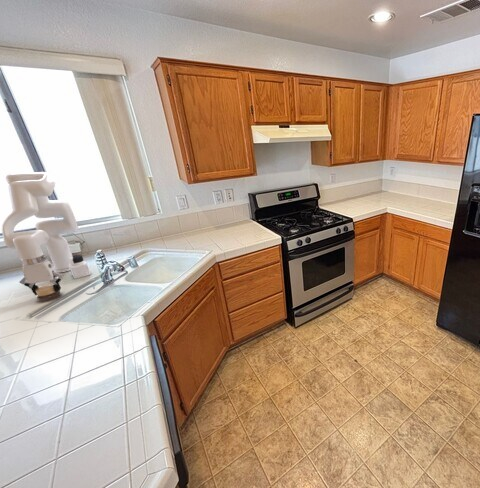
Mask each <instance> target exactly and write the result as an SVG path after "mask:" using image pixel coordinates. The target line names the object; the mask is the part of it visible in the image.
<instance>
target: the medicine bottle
mask: <svg viewBox="0 0 480 488" xmlns="http://www.w3.org/2000/svg"><path fill="white" fill-rule="evenodd" d="M68 260H69V262H70V264H69V267H70V272H71V275H72V276H73V278H74V279H75V280H76V279H80V278H84V277H86V276H91V271H90V268H89V266H88V263H87V262H86V261H85V260H84V258H83V255H80V254H75V255H73V256H72V257H70V258H69V259H68Z"/></svg>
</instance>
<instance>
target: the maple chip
mask: <svg viewBox="0 0 480 488" xmlns="http://www.w3.org/2000/svg"><path fill="white" fill-rule="evenodd" d="M53 285H54V284H53V283H49V284H44V285H41V286H38V288H37V289H36V290H35V291H36V293H37V295H36V296H45V295H49V294H52V293H54V292H55V290H54V287H53Z"/></svg>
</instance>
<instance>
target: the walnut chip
mask: <svg viewBox="0 0 480 488" xmlns="http://www.w3.org/2000/svg"><path fill="white" fill-rule="evenodd" d="M61 296H62V292H61V289H60V290H59V291H58V292H54V293H52V294H49V295H45V296H38V295H36V299H37V301H38V302H39V303H46V302H50V301H53V300H57V299H58V298H60V297H61Z"/></svg>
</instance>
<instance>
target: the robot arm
mask: <svg viewBox="0 0 480 488" xmlns="http://www.w3.org/2000/svg"><path fill="white" fill-rule="evenodd" d="M5 180H6V182H7V184H8V193H9V198H10V203H11V208H12V211H11V213H10V214H9V215H7V217H6V218H5V219H4V221H3V223H2V224H1V233H2V238H3V242H4V244H5V246H6V247H8V249H15V250H16V252H17V254H18V256H19V259H20V260H21V263H22V265H21V269H22V275H23V277H22V279H21V280H19V282H18V283H20V284H21V285H23V286H25V287H26V288H29V289H30V290H31V291H32V294H34V296H38V295H37V293H36V291H35V290H36V289H37V288H39V286H38V285H37V284H40V283H46V282H47V283H48V282H50V284H54V285H53V287H54V290H55V292H58V291H59V290H60V291H61V285H60V282H61V281H62V279H63V278H64V274H62V273H66V272H71V270H70V267H69V264H70V262H69V260H68V259H69V258H70V257H72V256H74V255H73V253H72V250H71V248H70V245H69V242H68V240H67V239H66V238H65V237H63V236H62V235H65V234H73V233H76V232H77V231H78V230H79V225H78V223H77V220H76V217H75V214H74V212H73V210H72V208H71V207H72V206H71V205H70V204H69V202H68V201H66V200H64V199H55V200H54V199H53V200H50V198H49V197H50V196H52V195H53V192H54V190H55V187H56V180H55V177H54V175H52V174H51V173H50V172H48V171H46V172H45V171H39V172H37V171H36V172H16V173H10V174H7V175H6V176H5ZM33 216H34V217H36V218H38V219H42V220H39V221H37V222H36V223H35V230H25V231H16V232H14V230H15V228H16V226H17V225H18V224H19V223H21V222H23V221H25V220H26V219H27V220H28V219H29V218H31V217H33ZM44 245H45V248H46V250H47V253H48V255H49V256H48V255H47V256H45V254H44V252H43V250H42V247H41V246H44ZM49 257H50V260H51V261H50V260H49ZM51 262H52V263H51Z"/></svg>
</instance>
